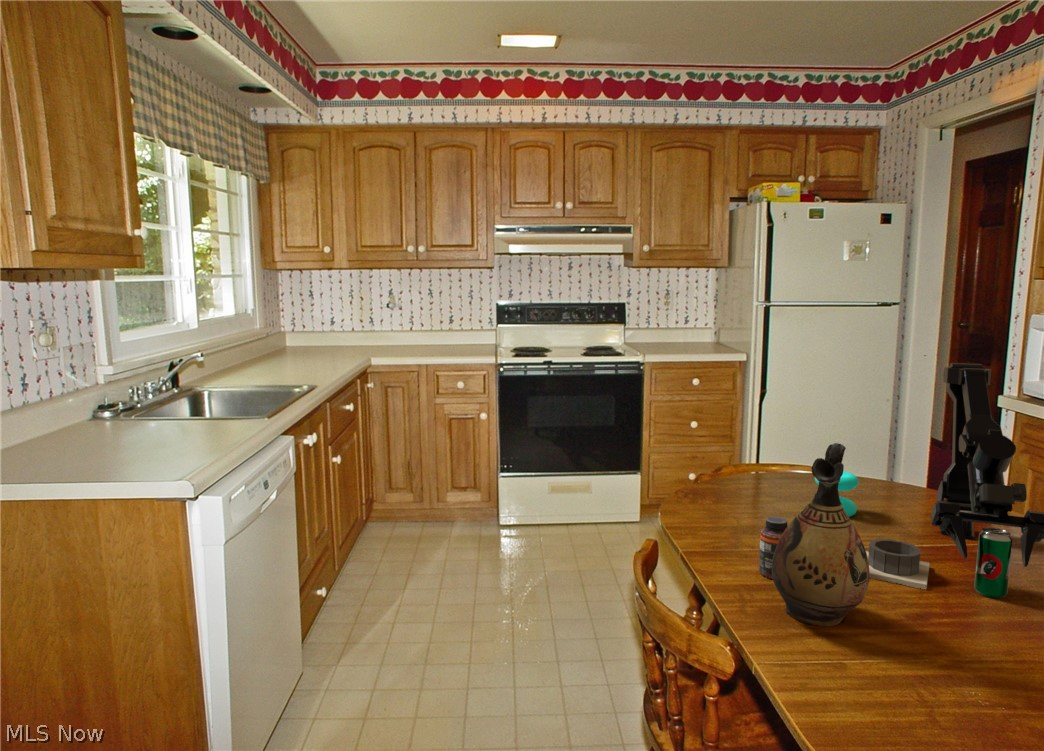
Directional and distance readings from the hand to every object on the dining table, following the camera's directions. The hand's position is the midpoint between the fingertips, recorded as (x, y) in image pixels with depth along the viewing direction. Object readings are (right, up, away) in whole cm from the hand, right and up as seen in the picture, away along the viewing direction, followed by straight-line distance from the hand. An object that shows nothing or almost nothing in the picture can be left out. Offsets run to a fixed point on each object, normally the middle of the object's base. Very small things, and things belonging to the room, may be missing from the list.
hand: (995, 561), depth 122 cm
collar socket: (-12, -5, +12) cm, 18 cm away
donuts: (-8, -1, +47) cm, 47 cm away
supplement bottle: (-36, -6, +11) cm, 38 cm away
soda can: (+1, -7, +2) cm, 7 cm away
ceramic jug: (-34, -8, -5) cm, 36 cm away
